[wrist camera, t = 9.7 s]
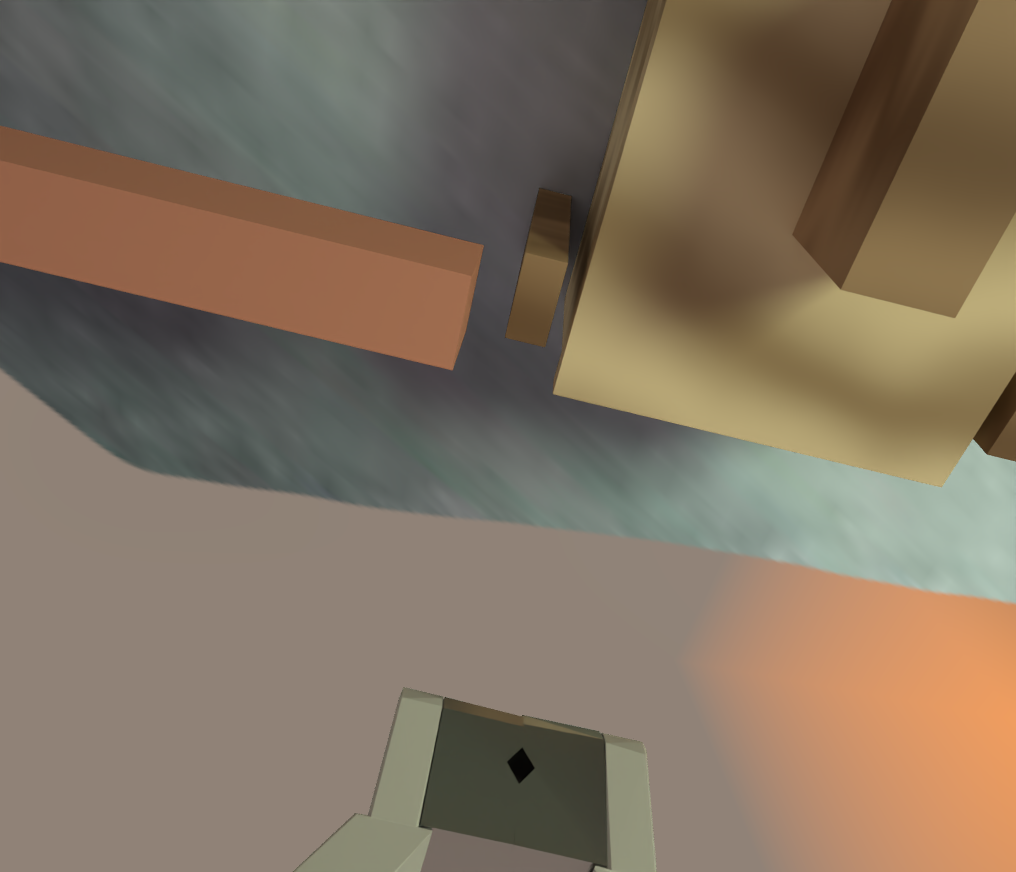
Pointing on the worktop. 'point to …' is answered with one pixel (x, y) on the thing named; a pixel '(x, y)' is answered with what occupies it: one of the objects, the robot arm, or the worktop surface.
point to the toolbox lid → (812, 231)
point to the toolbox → (1003, 434)
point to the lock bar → (234, 250)
